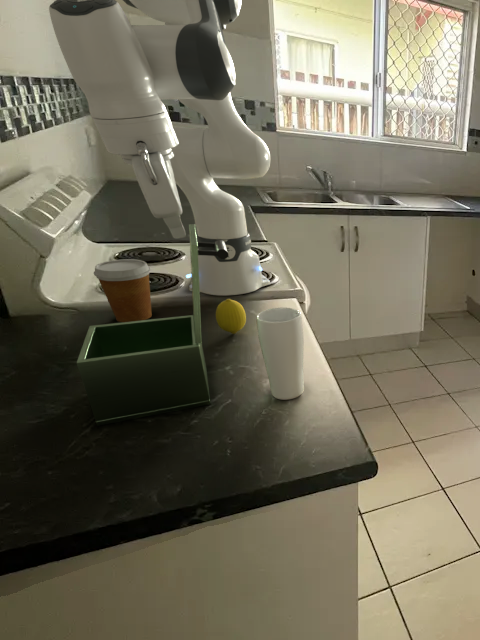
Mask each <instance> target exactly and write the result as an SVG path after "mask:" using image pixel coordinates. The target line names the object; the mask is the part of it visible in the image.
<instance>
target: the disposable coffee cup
mask: <svg viewBox="0 0 480 640" xmlns="http://www.w3.org/2000/svg"><path fill="white" fill-rule="evenodd" d="M150 273H151V267H150V266H149V265H148V264H147V262H146V261H144V260H142V259H134V258H133V259H132V258H131V259H130V258H128V259H127V258H125V259H114V260H113V259H112V260H107V261H103V262H100V263H98V264H96V265H95V266H94V271H93V275H94V276H95V278H96V279H97V280H98V282H99V284H100V286H101V288H102V290H103V293H104V295H105V297H106V299H107V301H108V304H109V306H110V308H111V310H112V313H113V315H114V317H115V319H116V321H117V322H118V323H123V322H132V321H142V320H149V319H150V318H152V315H153V314H152V301H151V300H152V299H151V297H152V296H151V285H150V284H151V283H150Z"/></svg>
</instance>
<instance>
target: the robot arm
mask: <svg viewBox="0 0 480 640" xmlns="http://www.w3.org/2000/svg"><path fill="white" fill-rule="evenodd" d="M122 1H123V2H124V3H125V5H127V6H129V7H131V8H134V9H137V10H139V11H140V12H141V13H142V14H144V15H146V16H148V17H149V18H152V19H153V20H156V21H158V22H162V23H164V24H140V25H139V24H131V22H130V20H129V17H128V16H127V15H126V12H125V10H124V9H123V7H122V6H121V4H120V3H119V2H118V1H117V0H54V1H53V2H52V3H51V4H50V5H49V7H48V11H49V12H48V13H49V16H50V17H49V18H50V21H51V24H52V28H53V31H54V35H55V38H56V40H57V43H58V46H59V49H60V51H61V53H62V56H63V59H64V61H65V63H66V66H67V67H68V70H69V72H70V74H71V76H72V78H73V81H74V82H75V84H76V85H77V86H78V87H79V88H80V89H81V91H82V93H83V94H84V96H85V98H86V101H87V105H88V110H89V111H88V112H89V115H90V117H91V119H92V121H93V124H94V125H95V128H96V130H97V132H98V133H99V136H100V139H101V141H102V143H103V145H104V146H105V149H106V151H107V152H108V153H109V154H112V155H116V156H120V157H121V158H122V162H123V163H124V164H125V165H129V166H132V170H133V173H134V175H135V178H136V181H137V183H138V186H139V188H140V190H141V192H142V195H143V197H144V199H145V202H146V204H147V206H148V208H149V210H150V213H151V214H152V216H153V217H154V218H155V219H162V220H163V222H164V224H165V225H166V226H167V228H168V230H169V232H170V234H171V237H172V238H173V239H175V240H178V239H183V238H186V237H187V233H186V230H185V227H184V224H183V223H182V219H181V218H182V214H183V207H182V203H181V200H180V196H179V191H178V187H179V189H180V190H181V191H182V193H183V194H184V195H185V197H186V199H187V201H188V202H189V205H190V208H191V211H192V212H191V213H192V216H193V219H194V225H195V230H196V237H197V242H210V243H215V242H216V241H217V240H221V241H223V242H224V243H225V245H226V248H227V251H228V257H227V258H226V259H220V258H218V257H217V256H207V255H198V264H199V290H200V293H203V294H207V295H211V296H237V295H243V294H249V293H252V292H255V291H257V290H259V289H261V288H263V287H265V286H269V285H271V280H270V279H269V278H268V277H266V276H265V275H264V274H263V273H262V271H263V268H262V267H261V261H260V256H259V255H258V254H257V253H256V252H254V251H253V250H252V249H251V248H252V239H251V236H250V233H249V232H248V227H247V219H246V212H245V207H244V204H243V203H242V201H240V200H239V199H238V198H237V197H235V196H234V195H232V194H230V193H228V192H226V191H224V190H222V189H220V187H219V186H218V185H217V184H216V183H215V180H214V179H226V180H227V179H228V180H229V179H230V180H250V179H258V178H263V177H264V176H265V175H266V174H267V173H268V171H269V169H270V166H271V161H272V160H271V153H270V150H269V147H268V146H267V144H266V143H265V141H264V140H263V139H262V138H261V137H260V136H259V135H257V134H256V133H255V132H253V131H252V130H251V129H250V128H249V127H248V126H247V125H246V123H245V122H244V121H243V120H242V118H241V116H240V115H239V113H238V111H237V109H236V107H235V105H234V102H233V100H232V95H231V92H232V91H233V90H234V87H235V86H236V71H235V65H234V62H233V59H232V56H231V54H230V51H229V49H228V47H227V45H226V41H225V36H224V32H223V30H226V28H227V25H229V24H231V23H233V22H234V21H235V20H237V18H238V16H239V15H240V10H241V8H242V0H122ZM166 100H167V101H169V100H178V101H179V102H180V103H181V104H182V105H184V106H185V107H187V108H189V109H191V110H192V111H194V112H196V113H198V114H200V115H202V116H203V118H204V119H205V121H206V123H207V126H208V127H206V128H203V127H190V126H179V125H173V123H172V121H171V118H170V116H169V113H168V110H167V108H166V105H165V104H164V102H163V101H166ZM198 250H214V251H216V250H215V248H210V247H198ZM185 277H186V279H189V278H191V273H189V274H186V275H185ZM188 290H189V291H190V292H192V282H190V285H189V286H188Z"/></svg>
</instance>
